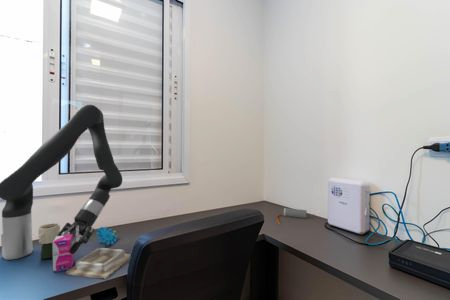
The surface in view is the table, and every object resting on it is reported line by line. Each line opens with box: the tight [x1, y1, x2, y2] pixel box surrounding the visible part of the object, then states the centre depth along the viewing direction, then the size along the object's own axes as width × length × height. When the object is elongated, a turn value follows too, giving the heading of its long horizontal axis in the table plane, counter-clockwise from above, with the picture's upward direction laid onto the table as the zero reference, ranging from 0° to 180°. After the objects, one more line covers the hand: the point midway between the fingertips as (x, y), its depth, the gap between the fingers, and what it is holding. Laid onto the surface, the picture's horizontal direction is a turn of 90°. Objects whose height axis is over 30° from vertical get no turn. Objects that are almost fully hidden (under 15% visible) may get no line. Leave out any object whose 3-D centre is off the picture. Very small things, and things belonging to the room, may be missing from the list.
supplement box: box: [52, 234, 75, 273], centre depth 88 cm, size 6×6×12 cm
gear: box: [95, 226, 118, 246], centre depth 110 cm, size 11×6×10 cm
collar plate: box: [65, 247, 131, 280], centre depth 89 cm, size 16×16×4 cm
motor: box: [276, 207, 316, 226], centre depth 138 cm, size 23×22×5 cm
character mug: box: [37, 222, 61, 259], centre depth 96 cm, size 11×7×13 cm, turn 2°
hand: (63, 251), depth 88 cm, fingers open, 8 cm apart
